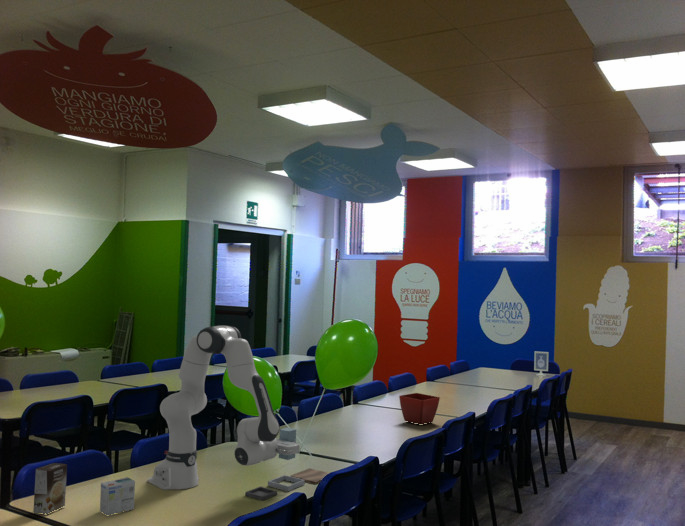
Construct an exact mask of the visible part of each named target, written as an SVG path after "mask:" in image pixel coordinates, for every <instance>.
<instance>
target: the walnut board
mask: <svg viewBox="0 0 685 526" xmlns="http://www.w3.org/2000/svg"><path fill="white" fill-rule="evenodd" d="M329 473H330V472H327V471H322V470H319V469H313V468H310V467H309V468H306V469H305V470H302V471H299V472H295V473H294V474H291V475H290V476H291V477H295V478H299V479H303V480H304V483H305V482H306V483H308V484H309V483H310V484H313V485H319V484H320V483H321V482H320V481H321V479H322V478H323V477H324V476H325V475H327V474H329ZM319 482H320V483H319Z"/></svg>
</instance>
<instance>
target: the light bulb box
mask: <svg viewBox="0 0 685 526" xmlns="http://www.w3.org/2000/svg"><path fill="white" fill-rule="evenodd" d="M135 490H136V481H135V480H134V479H131V478H130V477H128V476H126V477H122V478H117V479H114V480H109V481H104V482H100V500H99V502H100V503H99V512H100V511H101V512H103V513H104V514H106V515H111V514H114V513H119V512H123V511H127V512H129V511H128V510H131V511H133V510H132V509H134V510H135V496H136V495H135V494H136V493H135V492H136V491H135ZM101 512H100V513H101ZM103 513H102V514H103ZM123 513H124V512H123ZM104 514H103V515H104ZM119 514H120V513H119ZM111 516H112V515H111Z"/></svg>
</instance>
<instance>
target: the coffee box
mask: <svg viewBox="0 0 685 526" xmlns="http://www.w3.org/2000/svg"><path fill="white" fill-rule="evenodd" d="M67 472H68V464H66V463H61V462H60V463H57V462H53V463H49V464H47V465H44V466H40V467H38V468H35V476H34V477H35V479H34V491H33V492H34V493H33V494H34V495H33V496H34V497H33V510H32V513H33V512H34V513H43V514H45V513H46V514H48V513H50V512H52V511H54V510H57V509H59V508H61V507H63V506H66V495H67V494H66V491H67V490H66V489H67V474H68V473H67ZM34 513H33V514H34Z"/></svg>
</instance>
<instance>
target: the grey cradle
mask: <svg viewBox="0 0 685 526" xmlns="http://www.w3.org/2000/svg"><path fill="white" fill-rule="evenodd" d="M283 481H287V482H290V481H291V483H292V484H290V485H286V484H282V483H280V482H283ZM304 485H305V481H304V480H303V479H299V478H295V477H291V475H286V474H284V475H280V476H278V477H276V478H273V479H271V480H268V481H267V486H268V487H271V488H275V489H278V490H282V491H286V492H290V491H292V490H295V489H297V488H299V487H303V486H304Z"/></svg>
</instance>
